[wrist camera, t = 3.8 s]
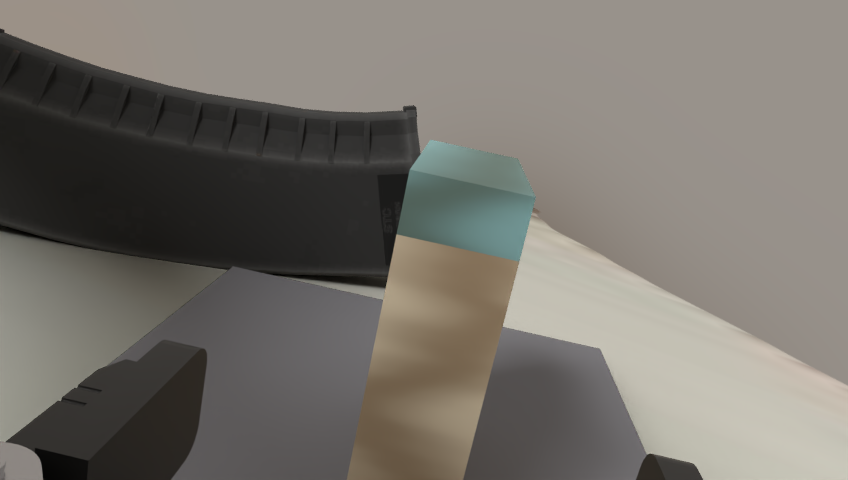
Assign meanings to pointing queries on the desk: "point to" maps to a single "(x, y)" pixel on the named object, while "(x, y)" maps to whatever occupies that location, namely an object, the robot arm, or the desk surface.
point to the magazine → (196, 171)
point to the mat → (346, 381)
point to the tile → (441, 313)
